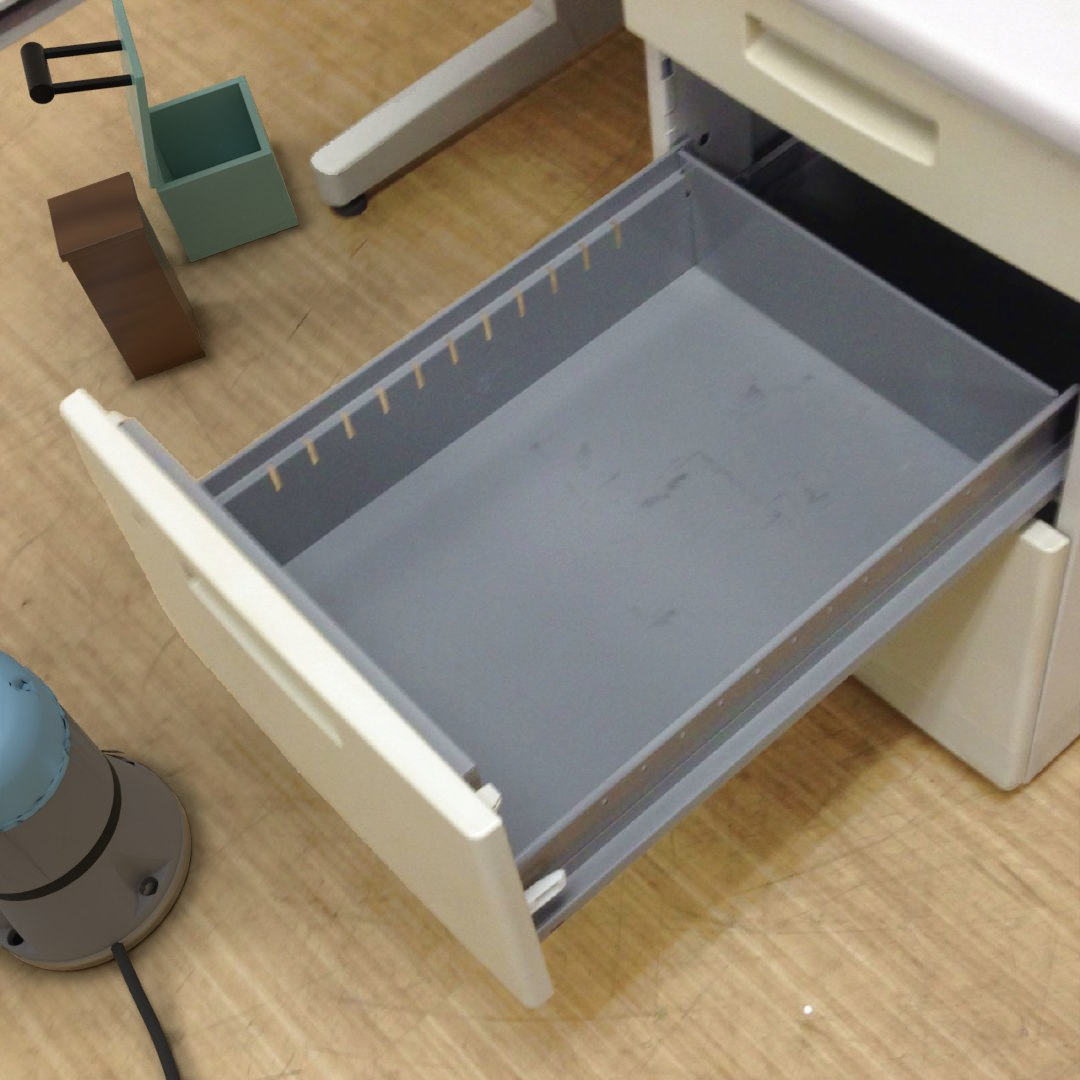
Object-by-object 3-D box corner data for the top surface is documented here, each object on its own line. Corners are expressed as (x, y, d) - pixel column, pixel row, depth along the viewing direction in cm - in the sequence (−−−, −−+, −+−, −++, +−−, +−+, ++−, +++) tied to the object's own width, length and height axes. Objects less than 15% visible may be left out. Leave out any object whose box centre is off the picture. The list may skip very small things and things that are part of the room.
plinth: (209, 357, 133) (143, 226, 120) (133, 384, 132) (58, 256, 119) (194, 303, 137) (128, 170, 124) (120, 329, 136) (46, 199, 123)
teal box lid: (120, -4, 130) (10, 8, 127) (144, 76, 123) (28, 90, 121) (137, 107, 139) (34, 120, 136) (159, 188, 132) (52, 203, 130)
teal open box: (272, 147, 147) (244, 74, 140) (299, 224, 140) (272, 152, 133) (167, 183, 146) (134, 112, 139) (190, 262, 140) (157, 192, 132)
